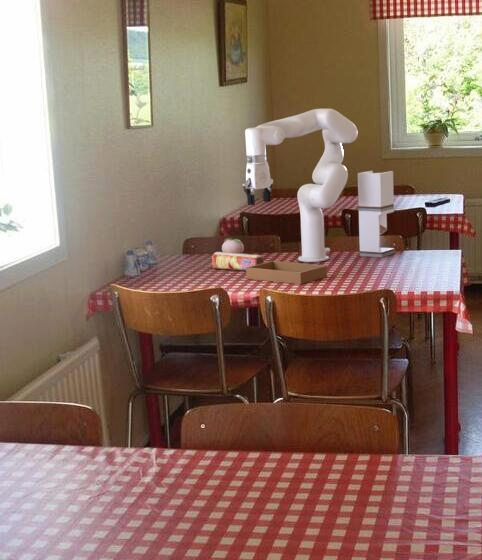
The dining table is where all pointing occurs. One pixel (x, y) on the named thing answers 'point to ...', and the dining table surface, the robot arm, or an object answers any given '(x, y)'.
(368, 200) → the coffee grinder
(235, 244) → the decorative fruit
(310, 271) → the brown cardboard tray
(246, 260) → the snack package
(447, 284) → the dining table surface
